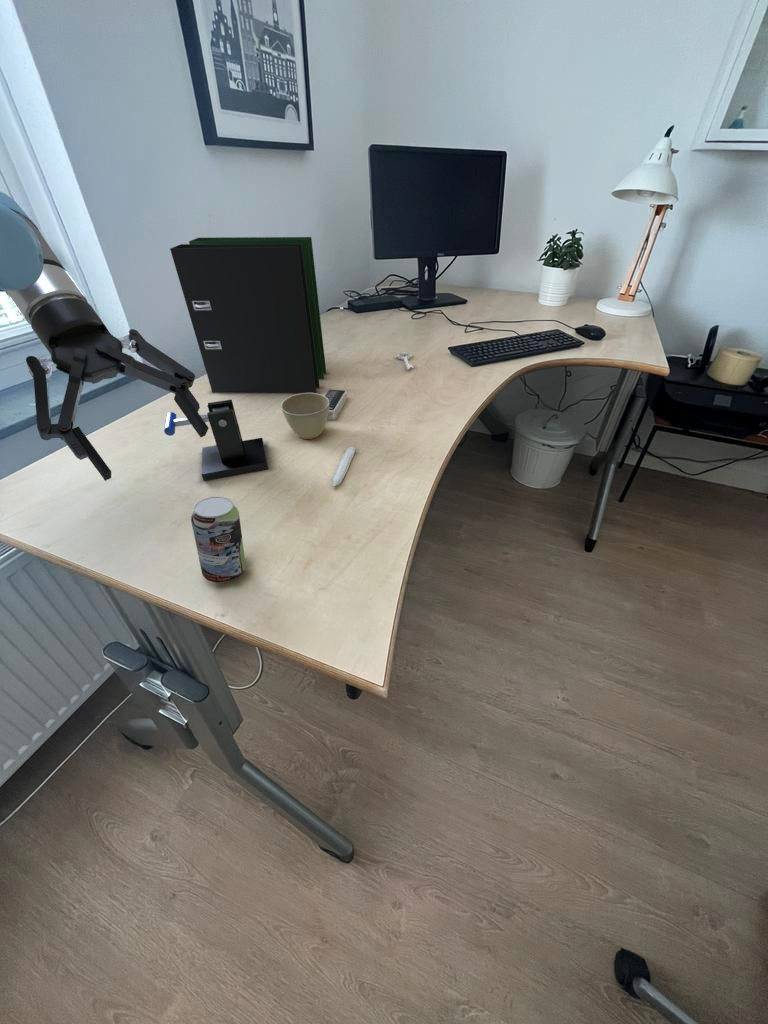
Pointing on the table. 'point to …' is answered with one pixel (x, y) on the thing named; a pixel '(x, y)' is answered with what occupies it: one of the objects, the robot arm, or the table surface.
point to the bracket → (230, 446)
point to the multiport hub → (335, 402)
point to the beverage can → (218, 539)
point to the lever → (182, 421)
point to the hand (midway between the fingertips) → (159, 453)
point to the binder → (254, 312)
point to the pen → (343, 466)
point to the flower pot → (306, 414)
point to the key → (405, 359)
